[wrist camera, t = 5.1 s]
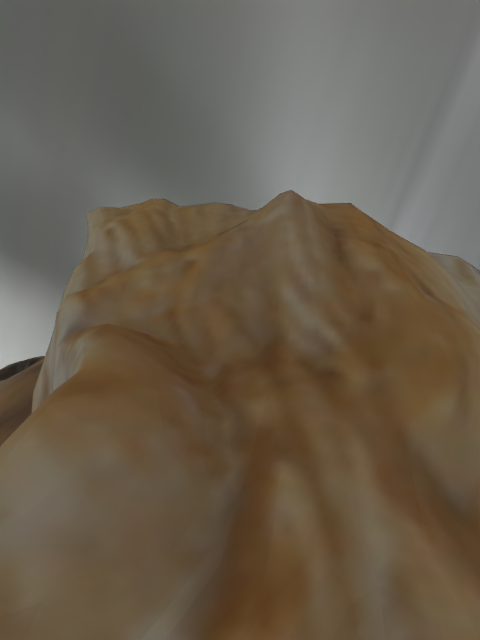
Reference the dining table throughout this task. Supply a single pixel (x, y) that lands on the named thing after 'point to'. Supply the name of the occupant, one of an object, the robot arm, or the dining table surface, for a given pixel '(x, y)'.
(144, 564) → the lion figurine
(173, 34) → the dining table surface
